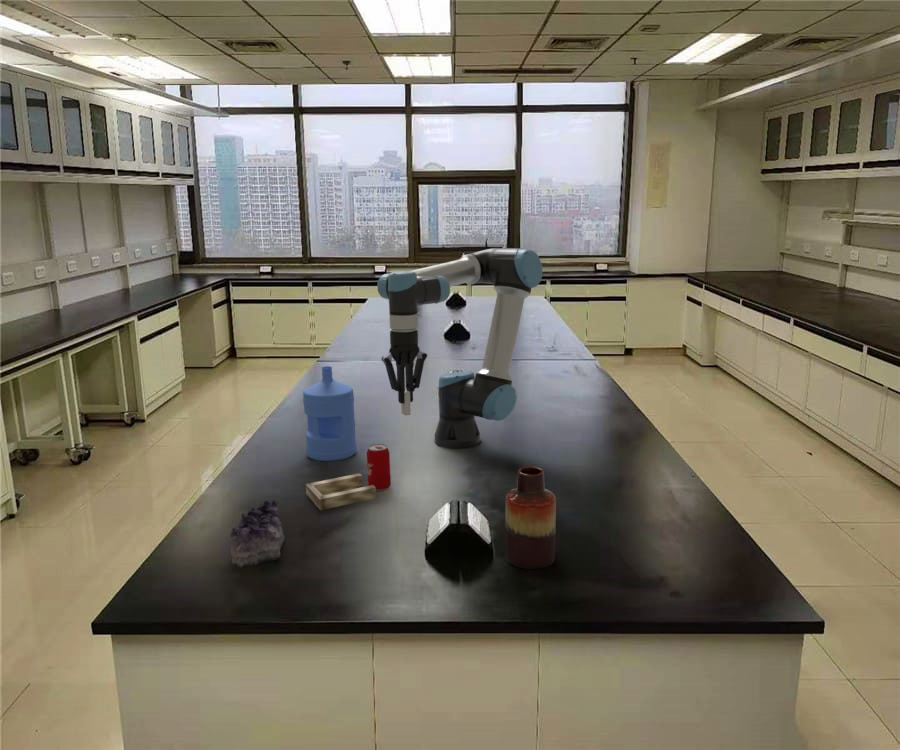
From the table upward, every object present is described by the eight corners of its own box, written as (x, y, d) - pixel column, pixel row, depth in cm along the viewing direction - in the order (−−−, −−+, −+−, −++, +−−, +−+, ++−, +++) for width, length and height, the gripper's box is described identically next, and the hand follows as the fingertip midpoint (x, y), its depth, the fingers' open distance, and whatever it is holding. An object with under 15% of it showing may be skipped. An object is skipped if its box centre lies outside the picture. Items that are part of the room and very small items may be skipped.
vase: (564, 556, 156) (566, 469, 151) (536, 575, 148) (537, 484, 143) (524, 541, 163) (525, 458, 158) (495, 559, 155) (495, 472, 150)
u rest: (359, 483, 199) (359, 473, 199) (376, 497, 189) (375, 487, 188) (306, 494, 192) (305, 484, 191) (320, 510, 182) (319, 499, 181)
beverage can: (379, 481, 200) (377, 441, 197) (395, 487, 196) (393, 446, 193) (363, 488, 195) (361, 447, 192) (379, 494, 191) (377, 452, 189)
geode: (239, 531, 171) (242, 492, 169) (288, 534, 173) (291, 495, 171) (223, 570, 151) (225, 526, 150) (278, 572, 153) (281, 529, 151)
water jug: (328, 442, 234) (324, 360, 228) (366, 450, 226) (362, 365, 220) (296, 457, 221) (290, 370, 215) (335, 465, 213) (329, 375, 207)
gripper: (419, 325, 196) (421, 407, 201) (375, 329, 190) (379, 414, 195) (431, 329, 189) (433, 413, 195) (387, 333, 183) (389, 420, 189)
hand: (406, 413), depth 195 cm, fingers closed
